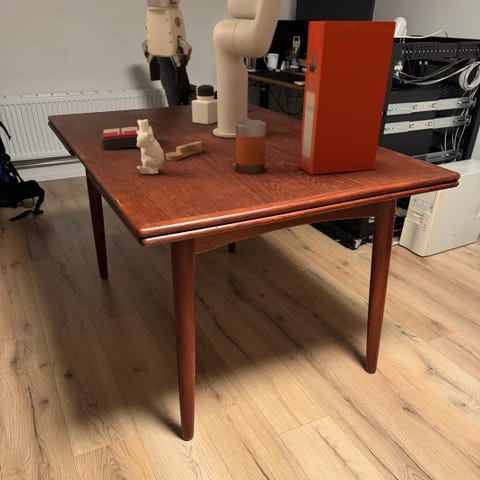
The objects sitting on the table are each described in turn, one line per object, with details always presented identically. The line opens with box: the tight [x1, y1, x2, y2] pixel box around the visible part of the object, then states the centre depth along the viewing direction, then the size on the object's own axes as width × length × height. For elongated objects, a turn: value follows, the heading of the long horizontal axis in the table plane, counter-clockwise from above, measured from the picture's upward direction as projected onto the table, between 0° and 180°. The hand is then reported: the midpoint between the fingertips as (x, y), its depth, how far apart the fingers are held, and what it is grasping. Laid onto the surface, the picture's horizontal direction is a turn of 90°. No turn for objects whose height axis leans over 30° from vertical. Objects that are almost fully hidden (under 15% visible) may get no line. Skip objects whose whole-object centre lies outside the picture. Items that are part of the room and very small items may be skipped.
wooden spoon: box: [165, 141, 203, 162], centre depth 131 cm, size 12×4×3 cm, turn 141°
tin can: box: [235, 119, 267, 175], centre depth 117 cm, size 7×7×11 cm
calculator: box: [101, 125, 157, 151], centre depth 141 cm, size 11×4×15 cm
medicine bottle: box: [191, 84, 218, 125], centre depth 168 cm, size 7×7×12 cm
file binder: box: [298, 20, 397, 176], centre depth 113 cm, size 8×17×32 cm, turn 108°
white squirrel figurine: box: [136, 119, 165, 175], centre depth 115 cm, size 8×7×12 cm
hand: (168, 82), depth 123 cm, fingers open, 9 cm apart
